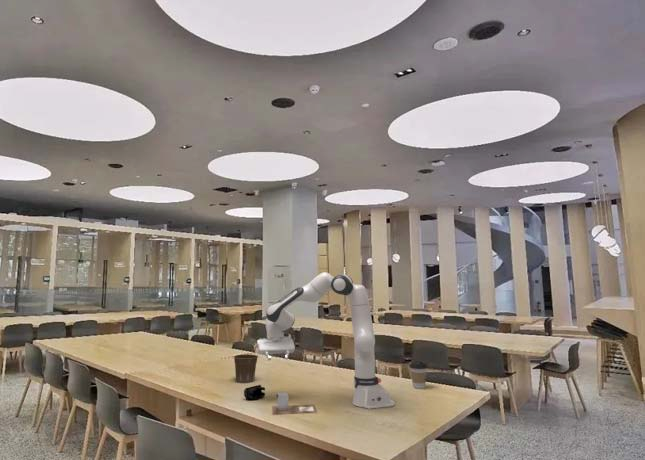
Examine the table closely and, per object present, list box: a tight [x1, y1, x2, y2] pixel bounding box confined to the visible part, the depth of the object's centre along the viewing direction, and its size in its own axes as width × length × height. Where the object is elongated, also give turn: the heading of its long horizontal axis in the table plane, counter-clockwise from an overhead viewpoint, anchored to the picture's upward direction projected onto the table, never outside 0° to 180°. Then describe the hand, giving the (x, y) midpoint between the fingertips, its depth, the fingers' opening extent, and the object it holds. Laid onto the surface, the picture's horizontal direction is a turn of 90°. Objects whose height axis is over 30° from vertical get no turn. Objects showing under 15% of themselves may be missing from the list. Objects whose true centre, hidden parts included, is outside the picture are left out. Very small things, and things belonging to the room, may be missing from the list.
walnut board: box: [271, 404, 318, 416], centre depth 203 cm, size 22×14×8 cm, turn 97°
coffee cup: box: [408, 361, 428, 390], centre depth 251 cm, size 11×11×15 cm
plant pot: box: [233, 353, 259, 384], centre depth 270 cm, size 16×16×16 cm
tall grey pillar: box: [276, 391, 289, 411], centre depth 203 cm, size 5×5×8 cm
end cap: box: [243, 384, 266, 402], centre depth 227 cm, size 10×7×7 cm
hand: (278, 359), depth 217 cm, fingers open, 8 cm apart
